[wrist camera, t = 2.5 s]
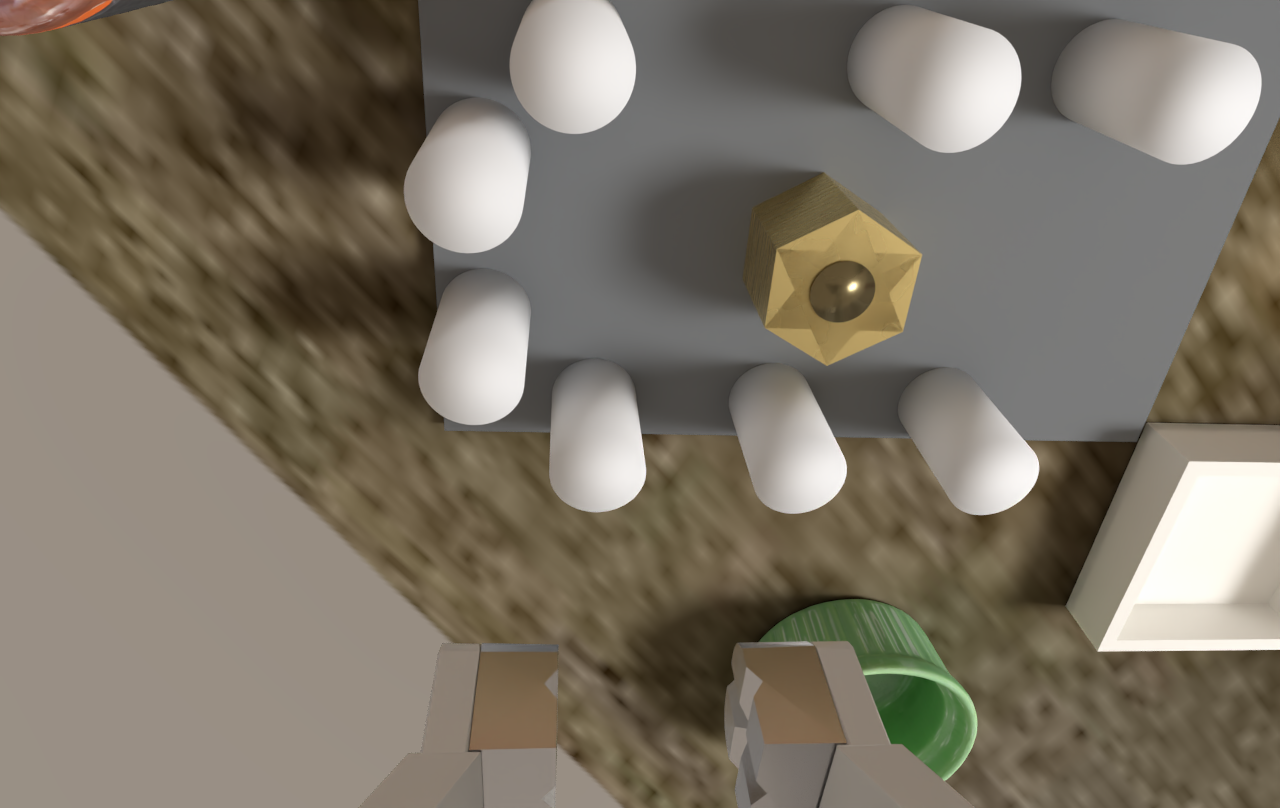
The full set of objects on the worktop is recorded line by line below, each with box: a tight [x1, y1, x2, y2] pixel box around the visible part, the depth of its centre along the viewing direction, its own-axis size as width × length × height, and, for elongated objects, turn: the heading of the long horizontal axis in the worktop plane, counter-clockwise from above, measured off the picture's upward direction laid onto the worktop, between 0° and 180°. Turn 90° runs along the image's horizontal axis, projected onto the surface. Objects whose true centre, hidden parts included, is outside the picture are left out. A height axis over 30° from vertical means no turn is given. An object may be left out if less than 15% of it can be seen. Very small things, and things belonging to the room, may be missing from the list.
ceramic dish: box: [1066, 423, 1280, 651], centre depth 33 cm, size 9×9×2 cm
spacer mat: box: [404, 0, 1280, 515], centre depth 24 cm, size 17×25×5 cm
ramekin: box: [759, 599, 977, 781], centre depth 35 cm, size 9×9×4 cm
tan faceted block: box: [743, 172, 922, 366], centre depth 25 cm, size 5×4×4 cm
